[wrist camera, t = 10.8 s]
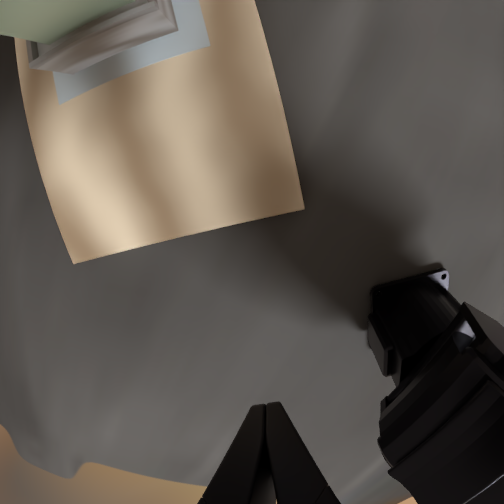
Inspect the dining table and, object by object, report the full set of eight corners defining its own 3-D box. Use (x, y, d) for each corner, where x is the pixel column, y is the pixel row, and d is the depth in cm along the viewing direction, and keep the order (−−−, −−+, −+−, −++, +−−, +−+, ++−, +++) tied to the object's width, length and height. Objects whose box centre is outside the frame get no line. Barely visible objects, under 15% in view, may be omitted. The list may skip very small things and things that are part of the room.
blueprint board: (226, -79, 12) (219, -126, 6) (302, 204, 19) (320, 237, 14) (20, 10, 13) (-28, -3, 8) (79, 258, 21) (39, 297, 16)
